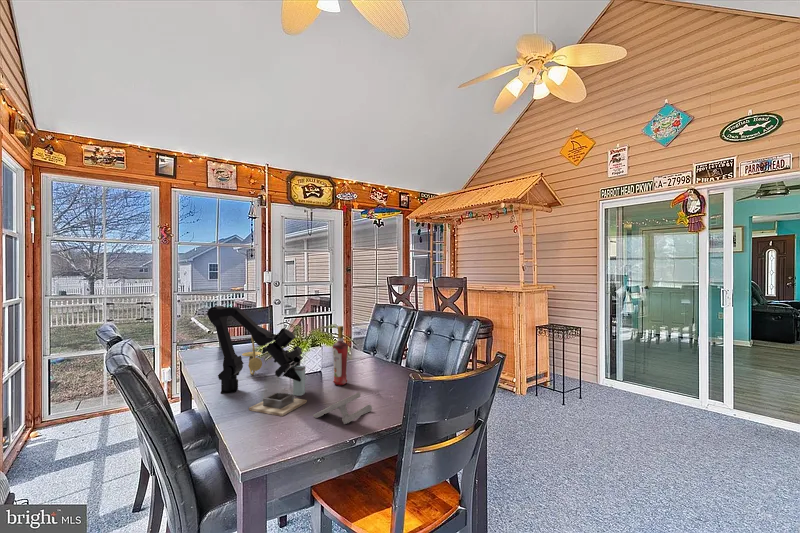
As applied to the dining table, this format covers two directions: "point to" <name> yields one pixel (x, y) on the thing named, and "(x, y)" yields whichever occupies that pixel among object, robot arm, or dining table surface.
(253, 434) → the dining table surface
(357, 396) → the door handle
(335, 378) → the liquor
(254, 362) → the wall sconce
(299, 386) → the rail end post
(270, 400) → the post socket
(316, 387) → the dining table surface
